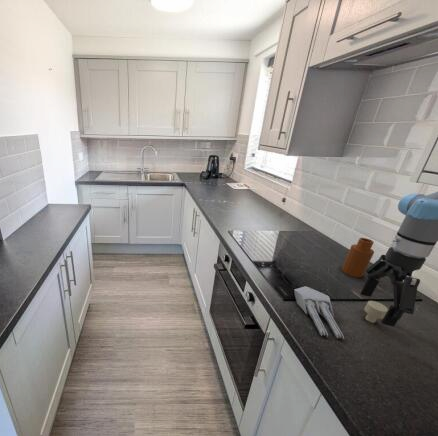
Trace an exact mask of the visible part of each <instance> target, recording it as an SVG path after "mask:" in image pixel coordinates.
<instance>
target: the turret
mask: <svg viewBox="0 0 438 436" xmlns="http://www.w3.org/2000/svg"><path fill="white" fill-rule="evenodd" d="M293 290H294V291H293V292H294V297H295V301H296V304H297V305H298V306H299V308H300V309H302V311H303V312H304V313H305V315H309V317H310V318H311V320H312V321H313V323H314V325H315V327H316V329H317V332H318V333H319V335H320V336H321V337H327V338H329V333H328V331H327V329H326V327H325V325H324V324H323V321H322V320H321V318H320V315H321V317H322V318H324V320H325V321H326V323H327V324H328V326H329V328H330V329H331V332H332V334H333V335H334V336H335V338H336V339H342V340H345V337H344V334H343V332H342V331H341V329H340V327H339V325H338V324H337V322H336V320H335V314H334V311H333V306H332V303H331V298H330V296H329V295H327V294H325V293H324V292H321V291H318V290H316V289H314V288H312V287H308V286H307V285H305V286H302V287H298V288H295V289H293ZM319 314H320V315H319Z"/></svg>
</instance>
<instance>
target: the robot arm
mask: <svg viewBox="0 0 438 436" xmlns="http://www.w3.org/2000/svg"><path fill="white" fill-rule="evenodd" d="M397 209H398V212H400V213H401V214H402V215H405V217H404V218H403V220H402V222H401V225H400V226H399V229H398V230H397V232H396V235H395V237H394V238H393V239H392V242H391V244H390V247H389V248H388V249H387V250H386V253H385V254H381V255H380V257H379V258H378V259H377V260H375V262H374V263H372V265H370V266H369V267H367V268H366V270H365V273H366V274H367V279H366V280H365V283H364V285H363V287H362V289H361V291H360V292H359V293H360V295H361V296H365V297H372V295H373V294H374V292H375V290H376V288H377V286H378V285H379V283H380V281H381V279H382V278H384V277H388V278H389V280H390V282H391V285H392V286H393V305H392V304H391V305H390V306H389V308H388V311H387V313H386V315H385V316H384V318H383V319H381V324H382V325H386V326H390V327H395V326H396V324H397V323H398V321H400V320H401V318H402V316H403V315H404V314H408V315H414V313H415V312H414V311H415V306H416V301H417V300H416V299H417V292H418V287H419V285H420V283H421V279H420V278H418V277H417V278H416V277H414V276H413V272H414V271H419V270H421V269H422V267H423V265H424V264H425V263H426V261H427V258H428V257H429V256H430V255H431V253H432V252H433V250H434V248H435V246H436V244H437V243H438V191H435V192H433V193H429V194H427V195H426V194H423V193H410V194H407V195H405V196H403V197H402V198H401V199H400V200H399V202H398V204H397Z"/></svg>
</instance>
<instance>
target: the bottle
mask: <svg viewBox="0 0 438 436" xmlns="http://www.w3.org/2000/svg"><path fill="white" fill-rule="evenodd" d="M374 242H375V241H374V240H372V239H371V238H370V239H369V238H367V237H359V239H358V240H357V243H356V244H355V243H354V244H351V246H350V248H349V250H348V253H347V255H346V258H345V260H344V262H343V264H342V267H341V271H342V272H343V273H344V274H346V275H349V276H351V277H354V278H362V277H363V276H364V274H365V273H366V270H367V269H368V266H369V265H370V262H371V260H372V258H373V256H374V254H375V250H373V249H372V247H373V245H374Z"/></svg>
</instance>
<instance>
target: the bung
mask: <svg viewBox="0 0 438 436" xmlns="http://www.w3.org/2000/svg"><path fill="white" fill-rule="evenodd" d="M363 310H364V312H365V313H366V316H365V320H366V321H367V322H369V323H371V324H372V323H373V324H374V323H376V321H377V320H378V319H380V320H383V318H384V316H385V315H386V313H387V311H388V310H389V308H388V307H386V306H385V305H384V304H382V303H381V302H378V301H374V300H368V301H367V303H366V304H365V307H364V309H363Z"/></svg>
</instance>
